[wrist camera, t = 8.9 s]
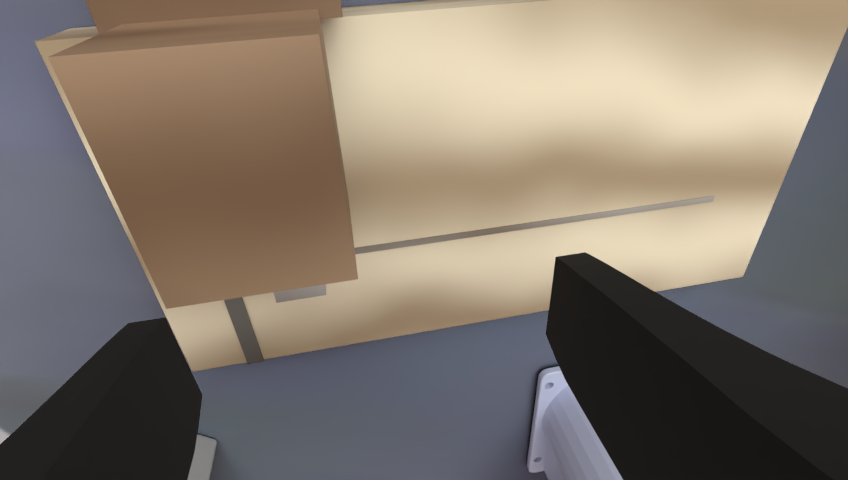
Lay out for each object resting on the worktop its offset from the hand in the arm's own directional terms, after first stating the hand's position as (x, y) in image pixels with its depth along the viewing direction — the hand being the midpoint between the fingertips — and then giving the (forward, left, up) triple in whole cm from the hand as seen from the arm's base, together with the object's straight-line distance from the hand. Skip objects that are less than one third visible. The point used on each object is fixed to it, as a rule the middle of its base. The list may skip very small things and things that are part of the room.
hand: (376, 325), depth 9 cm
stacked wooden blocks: (+2, +2, -9) cm, 9 cm away
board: (-2, -5, -9) cm, 10 cm away
